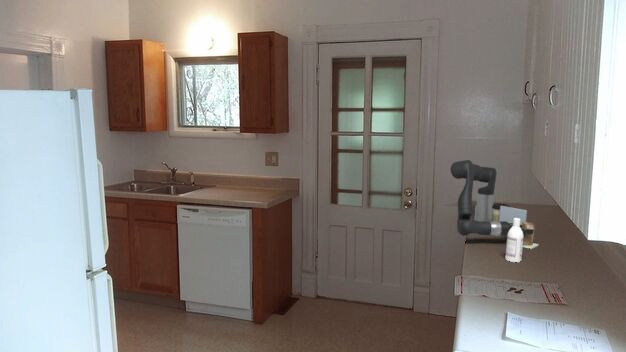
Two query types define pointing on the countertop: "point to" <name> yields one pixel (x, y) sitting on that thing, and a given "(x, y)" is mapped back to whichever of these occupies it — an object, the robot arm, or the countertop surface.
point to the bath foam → (514, 242)
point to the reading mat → (530, 246)
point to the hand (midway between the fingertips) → (529, 229)
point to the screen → (512, 214)
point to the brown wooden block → (528, 237)
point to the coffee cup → (497, 210)
